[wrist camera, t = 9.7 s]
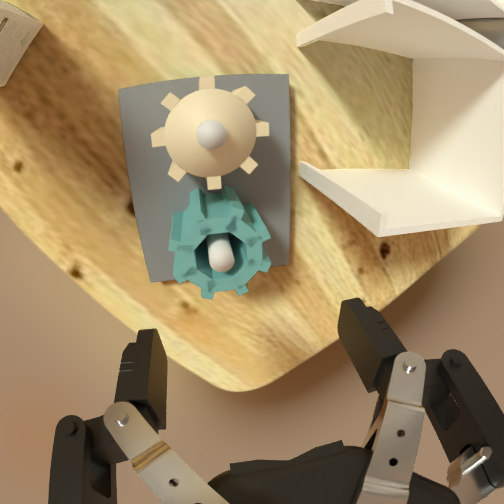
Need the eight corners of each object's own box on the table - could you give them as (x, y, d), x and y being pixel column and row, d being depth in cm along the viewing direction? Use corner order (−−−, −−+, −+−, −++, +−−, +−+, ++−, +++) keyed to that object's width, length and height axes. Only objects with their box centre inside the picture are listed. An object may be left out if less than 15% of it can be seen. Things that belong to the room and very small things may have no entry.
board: (283, 75, 18) (322, 66, 12) (284, 257, 25) (313, 306, 19) (122, 90, 16) (90, 84, 10) (152, 274, 23) (143, 330, 17)
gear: (254, 181, 20) (270, 203, 16) (257, 257, 23) (271, 291, 19) (167, 191, 19) (161, 215, 15) (180, 266, 22) (179, 303, 18)
